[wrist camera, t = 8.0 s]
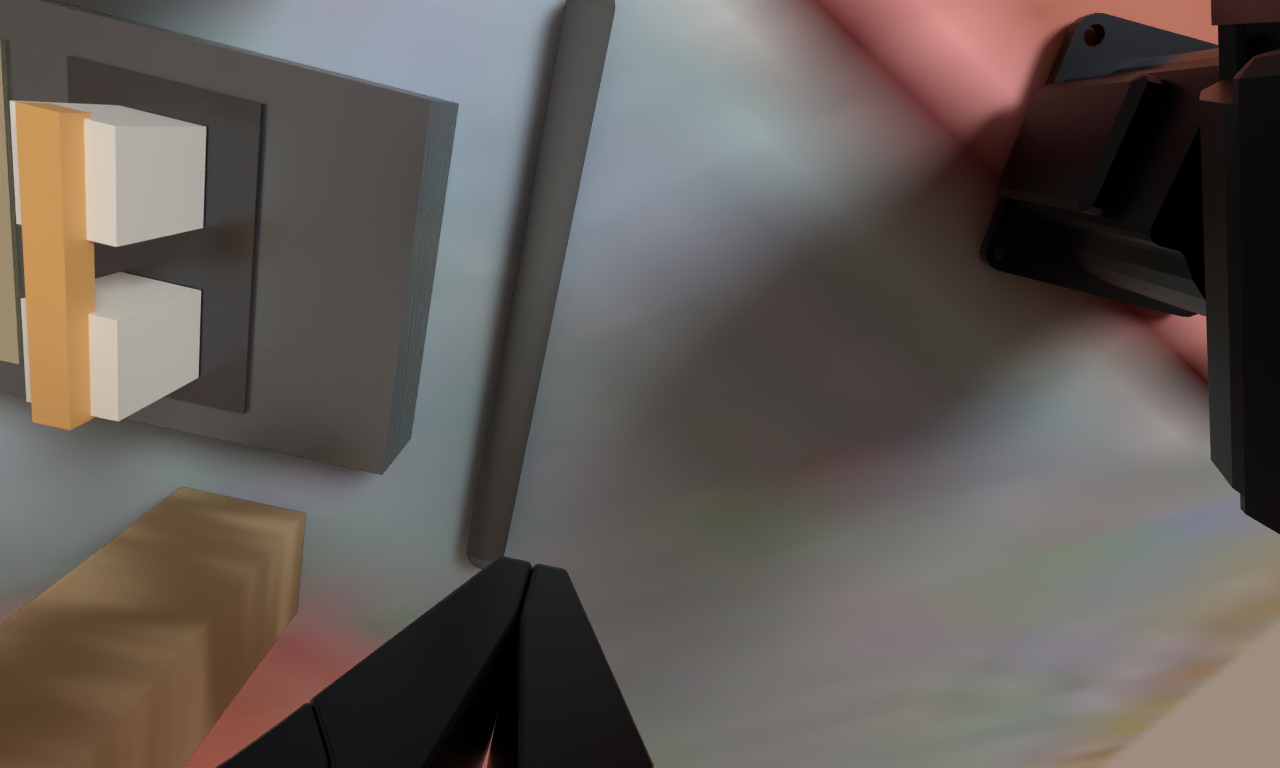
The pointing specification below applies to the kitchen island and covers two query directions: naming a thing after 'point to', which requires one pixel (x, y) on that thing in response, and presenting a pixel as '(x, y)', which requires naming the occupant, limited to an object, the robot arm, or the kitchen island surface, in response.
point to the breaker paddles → (64, 256)
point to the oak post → (149, 636)
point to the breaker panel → (259, 229)
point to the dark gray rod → (540, 268)
